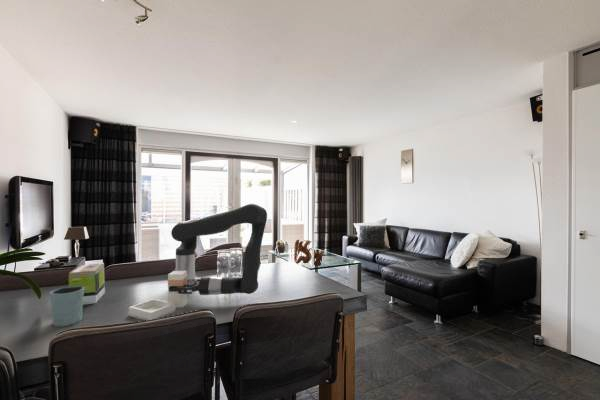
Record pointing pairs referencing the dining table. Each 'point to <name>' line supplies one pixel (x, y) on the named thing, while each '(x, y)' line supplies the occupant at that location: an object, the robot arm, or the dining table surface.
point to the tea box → (89, 281)
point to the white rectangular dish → (151, 309)
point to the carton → (177, 280)
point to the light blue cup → (67, 305)
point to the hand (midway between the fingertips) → (172, 286)
